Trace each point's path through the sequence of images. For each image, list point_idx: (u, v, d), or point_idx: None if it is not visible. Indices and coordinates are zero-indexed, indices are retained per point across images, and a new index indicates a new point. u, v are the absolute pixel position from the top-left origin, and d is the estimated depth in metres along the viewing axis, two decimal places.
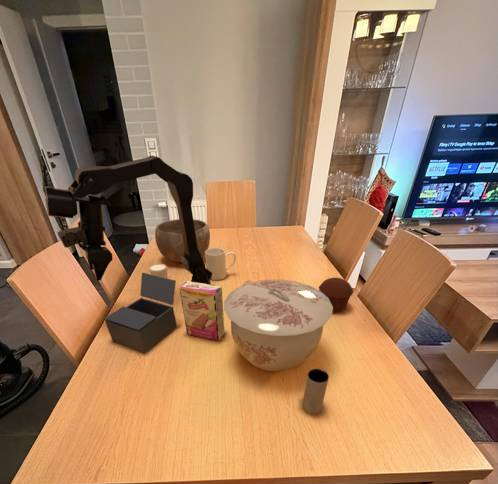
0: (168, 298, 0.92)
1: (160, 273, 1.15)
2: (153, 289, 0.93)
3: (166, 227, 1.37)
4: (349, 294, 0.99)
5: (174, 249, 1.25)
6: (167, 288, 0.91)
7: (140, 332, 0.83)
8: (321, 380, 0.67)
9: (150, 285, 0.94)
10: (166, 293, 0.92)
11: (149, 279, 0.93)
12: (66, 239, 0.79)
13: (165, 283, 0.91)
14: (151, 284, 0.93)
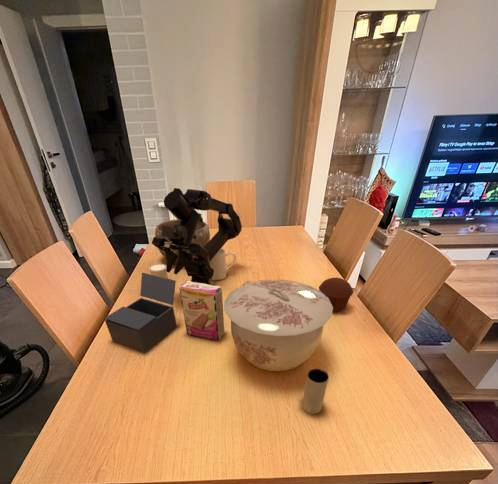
0: (168, 298, 0.92)
1: (160, 273, 1.15)
2: (153, 289, 0.93)
3: None
4: (349, 294, 0.99)
5: None
6: (167, 288, 0.91)
7: (140, 332, 0.83)
8: (321, 380, 0.67)
9: (150, 285, 0.94)
10: (166, 293, 0.92)
11: (149, 279, 0.93)
12: (181, 231, 0.89)
13: (165, 283, 0.91)
14: (151, 284, 0.93)
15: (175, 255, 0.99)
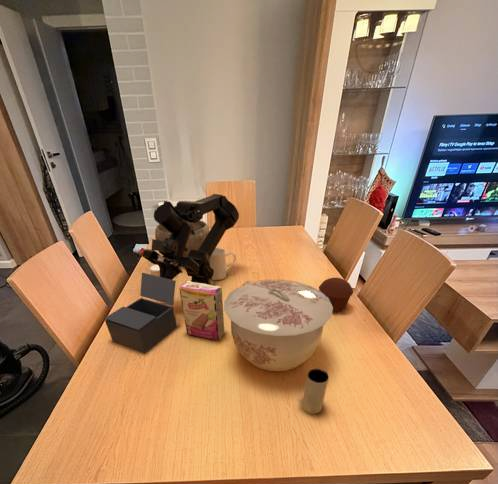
0: (168, 298, 0.92)
1: None
2: (153, 289, 0.93)
3: None
4: (349, 294, 0.99)
5: None
6: (167, 288, 0.91)
7: (140, 332, 0.83)
8: (321, 380, 0.67)
9: (150, 285, 0.94)
10: (166, 293, 0.92)
11: (149, 279, 0.93)
12: (171, 244, 0.87)
13: (165, 283, 0.91)
14: (151, 284, 0.93)
15: None
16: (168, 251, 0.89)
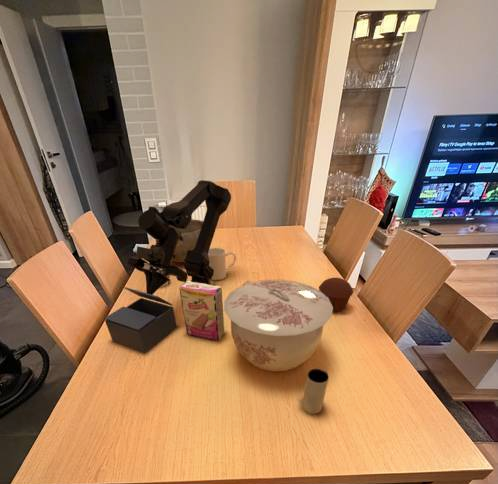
0: (164, 302, 0.91)
1: None
2: (146, 296, 0.91)
3: None
4: (349, 294, 0.99)
5: None
6: (157, 299, 0.88)
7: (140, 332, 0.83)
8: (321, 380, 0.67)
9: (140, 294, 0.91)
10: (159, 300, 0.90)
11: (135, 292, 0.90)
12: (157, 252, 0.82)
13: (151, 296, 0.87)
14: (140, 294, 0.91)
15: None
16: (154, 259, 0.85)
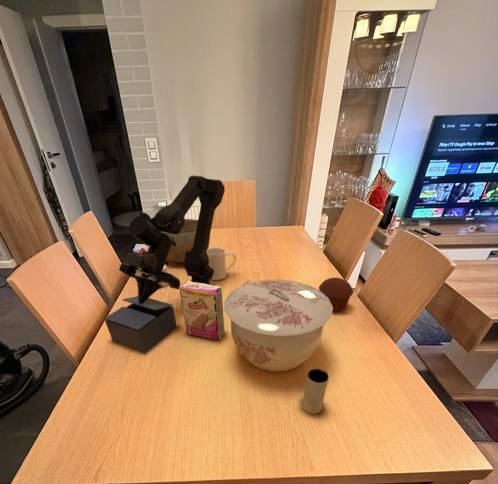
0: None
1: None
2: None
3: None
4: (349, 294, 0.99)
5: (174, 249, 1.25)
6: None
7: (140, 332, 0.83)
8: (321, 380, 0.67)
9: None
10: None
11: None
12: (148, 259, 0.80)
13: None
14: None
15: None
16: (145, 266, 0.83)
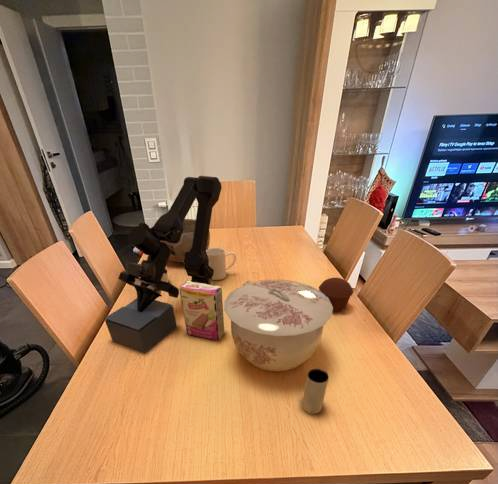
0: None
1: None
2: None
3: None
4: (349, 294, 0.99)
5: (174, 249, 1.25)
6: None
7: (140, 332, 0.83)
8: (321, 380, 0.67)
9: None
10: None
11: None
12: (147, 269, 0.81)
13: None
14: None
15: None
16: (144, 275, 0.83)
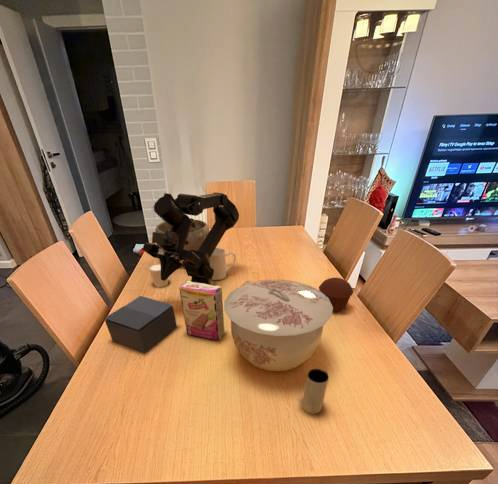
0: None
1: (160, 273, 1.15)
2: None
3: (166, 227, 1.37)
4: (349, 294, 0.99)
5: None
6: None
7: (140, 332, 0.83)
8: (321, 380, 0.67)
9: None
10: None
11: None
12: (172, 237, 0.86)
13: None
14: None
15: None
16: (169, 244, 0.88)
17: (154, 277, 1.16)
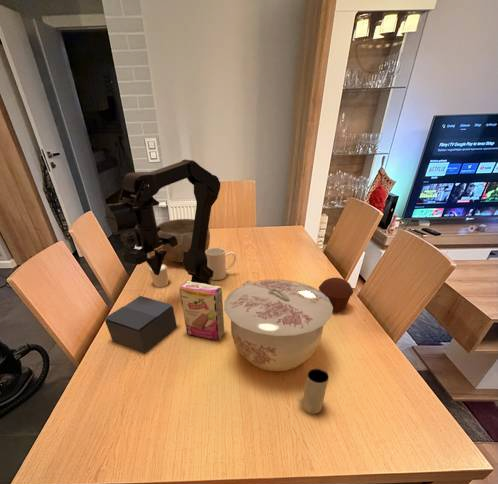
0: None
1: (160, 273, 1.15)
2: None
3: (166, 227, 1.37)
4: (349, 294, 0.99)
5: (174, 249, 1.25)
6: None
7: (140, 332, 0.83)
8: (321, 380, 0.67)
9: None
10: None
11: None
12: (121, 240, 0.89)
13: None
14: None
15: (158, 255, 0.93)
16: (131, 244, 0.91)
17: (154, 277, 1.16)
